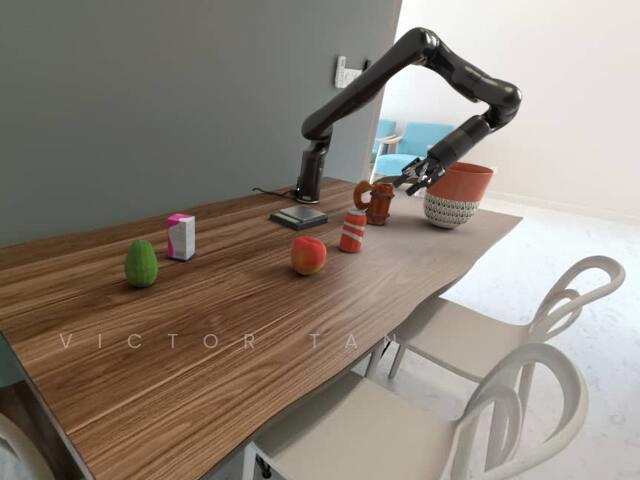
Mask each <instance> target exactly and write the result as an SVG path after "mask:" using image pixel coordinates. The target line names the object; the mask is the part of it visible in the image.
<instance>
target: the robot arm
mask: <svg viewBox="0 0 640 480" xmlns="http://www.w3.org/2000/svg"><path fill="white" fill-rule="evenodd" d="M411 65H413V66H419V67H423V68H426V69H428V70H429V71H433V72H434V73H436V74H438V75H439V76H440V77H441V78H442V79H444V80H445V82H446V83H447V84H448V85H449V86H450V87H451V88H452V89H453V90H454V91H455V92H456V93H458V94H459V95H460V96H462V98H465V99H466V100H468V101H469V102H470V103H473V104H480V103H481V102H483V103H485V104H487V105H488V109H486V110H485V111H484V112H483V113H481V114H473V115H472V116H470V117H468V118H467V119H465V121H464V122H462V123H461V124H460V125H459V126H457V127H456V128H455V129H453V130H452V131H450V132H449V133H447V134H446V135H445V136H444V137H443V138H442V139H440V140H439V141H437V142H436V144H435V143H434V145H433V146H432V147H430V148H429V149H428V150H427V151H426V157H425V158H423V159H421V158H420V156H417V157H416V158H414V159H413V160H412V161H410V162H409V163H407V164H406V165H405V166H404V167H403V168H401V169H400V171H401V174H400V176H398V177H397V178H396V179H394V180H393V181H392V183H391V184H393V186H394V188H395V189H398V188H399V187H401V186H402V185H403V184H404V183H406V182H407V180H410V179H412V178H414V179H416V178H418V180H417V181H415V182H414V183H412V184H411V185H410V186H409V187H408V188H406V189H405V190H404V192H405V194H406V195H407V196H408V197H412V196H413V195H414V194H416V193H417V192H418V191H420V190H422V189H424V188H425V189H426V188H427V189H428V188H430V187H431V186H432V185H434V184H435V183H436V182H437V181H438V180H440V179H441V178H442V177H443V176H444V175H445V174H446V173H445V171H446V170H447V169H448V168H449V167H451V166H452V165H453V164H454V163H456V162H459V160H461V159H462V158H464V157H465V156H466V155H467V154H468V153H469V152H470V151H471V150H472V149H473V148H474V147H475V146H477V145H478V144H479V143H480V142H482V141H483V140H484V139H486V138H487V137H488V136H490V135H492V134H494V133H496V132H498V131H499V130H501V129H503V128H505V127H506V126H507V125H508V124H510V123H511V122H512V121H513V120H514V119H515V117H516V116H517V115H518V113H519V109H520V106H521V104H522V101H523V94H522V91H521V89H520V88H519V87H518V86H517V85H516V84H514V83H512V82H509V81H506V80H503V79H500V78H496V77H493V76H491V75H490V74H488V73H486V72H485V71H484V70H482V69H481V68H479V67H477V66H476V65H474V64H472V63H471V62H470V61H468V60H466V59H464V58H463V57H461V56H460V55H458V54H457V53H455V51H453V50H452V49H451V48H450V47H449V46H448V45H447V44H446V43H445V42H444V41H443V40H442V38H440V37H439V35H438V34H437V33H436V31H433V30H431V29H429V28H427V27H423V26H415V27H412V28H410V29H409V30H407V31H406V32H405V33H404V34H403V35H402V36H401V37H400V38H399V39H397V40H396V41H395V43H394V44H392V46H390V47H389V49H388V50H387V51H386V52H385V53H384V54H383V55H382V56H381V57H380V58H378V59H377V60H376V61H374V63H372V64H371V65H370V66H368V67H367V68H366V69H365V70H364V71H363V72H361V73H360V74H359V75H358V76H357V77H355V78H354V79H353V80H352V81H350V82H349V83H348V84H347V85H346V86H345V87H344V88H343V89H341V90H340V91H339V92H338V93H337V94H336V95H335V96H333V97H332V98H331V99H330V100H329V101H327V102H326V103H325V104H324V105H322V106H320V107H319V108H318V109H317V110H315V111H314V112H312V113H311V114H309V115H308V116H307V117H305V119H304V120H303V122H302V124H301V129H300V132H301V135H302V137H303V138H304V139H305V140H307V141H310V142H309V144H308V145H307V147H306V148H304V149H303V151H302V154H301V155H302V156H301V163H300V172H299V175H298V176H297V181H296V187H293V188H290V190H287V191H285V192H283V193H279V192H276V191H268V190H267V191H266V190H263V189H262V188H259V187H254V188H252V190H251V191H253V192H254V191H256V190H257V191H260V192H261V193H264V194H270V195H271V194H272V195H276V196H280V197H283V196H286V195H287V194H288V193H289V196H290V197H294V199H295V200H296V201H297V202H299V203H301V204H307V205H315V204H319V203H320V196H321V190H322V183H323V177H324V172H325V165H326V159H327V155H328V153H329V152H330V147H331V142H332V137H333V134H334V123H336V122H338V121H340V120H342V119H344V118H346V117H348V116H351V115H353V114H355V113H357V112H359V111H360V110H362V109H363V108H365V107H366V106H367V105H369V104H370V103H371V102H373V101H374V100H375V99H376V98H377V97H378V96H379V95H380V94H381V92H382V91H383V89H384V88H385V86H386V85H387V84H388V82H389V80H391V79H392V78H393V77H394V76H395V75H397V74H399V72H401V71H403V70H404V69H406V68H407V67H409V66H411ZM431 178H432V181H431V182H430V180H431ZM429 182H430V183H429Z"/></svg>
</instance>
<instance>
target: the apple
mask: <svg viewBox="0 0 640 480" xmlns="http://www.w3.org/2000/svg"><path fill="white" fill-rule="evenodd" d="M326 258H327V248H326V246H325V244H324V243H323V242H322V240H320V239H317V238H315V237H312V236H306V235H305V236H299V237H297V238H295V239H294V241H293V242H292V245H291V248H290V262H291V265H292V267H293V269H294V270H295V272H297V273H299V274H300V275H303V276H310V275H312V274H315V273H317V272H318V271H319V270H321V268H322V267H324V264H325V262H326Z"/></svg>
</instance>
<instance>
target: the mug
mask: <svg viewBox="0 0 640 480" xmlns="http://www.w3.org/2000/svg"><path fill="white" fill-rule="evenodd" d="M394 188H395V187H394V186H393V184H392V183H390V182H386V183H385V182H381V181H379V182H375V184H371V183H370V182H369V181H368V180H367V179H363V180H361V181H360V182H358V183H357V184H356V186H355V187H354V189H353V194H352V195H353V196H352V199H353V203H354V206H355V208H356V210H362V211H364V212H365V213H366V219H367V221H366V222H368V223H370V224H372V225H376V226H380V225H383V224H385V223H386V222H387V220H388V218H390V217H391V214H390V213H389V210H390V208H391V207H390V206H391V203H392V200H393V198H395V196H396V194H395V193H394ZM369 191H370V192H369ZM367 192H369V195H370V201H367V202H364V201H362V195H363V194H365V193H367Z"/></svg>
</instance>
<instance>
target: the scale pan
mask: <svg viewBox="0 0 640 480" xmlns="http://www.w3.org/2000/svg"><path fill="white" fill-rule="evenodd" d="M278 212H279V213H282V214H284V215H287V216H290V217H292V218H295V219H297V220H300V221H302V222H305V221H308V220H312V219H316V218H320V217H323V216H326V213H325V212H322V211H318V210H316V209H313V208H310V207H308V206H306V205H302V204H300V205H296V206H295V205H294V206H291V207H287V208H282V209H279V210H278Z"/></svg>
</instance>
